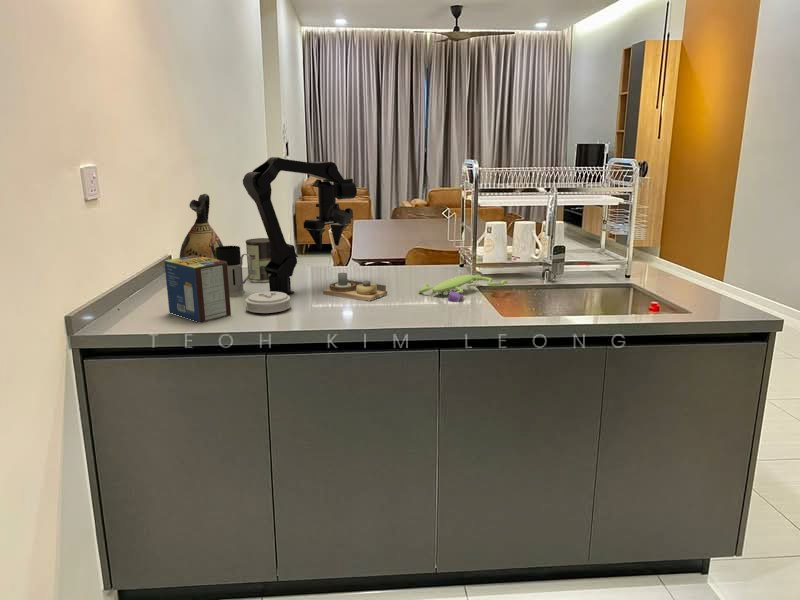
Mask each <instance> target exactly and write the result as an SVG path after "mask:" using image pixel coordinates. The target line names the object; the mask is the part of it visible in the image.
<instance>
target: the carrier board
mask: <svg viewBox="0 0 800 600" xmlns="http://www.w3.org/2000/svg"><path fill="white" fill-rule="evenodd" d="M347 282H348V283H350V284H351V286H349V287H336V286H335V284H337V283H338V281H337V282H336V281H335V282H332V283H330V284H329V288H327V289H323V290H322V292H323V293H322V294H323V295H327V296H334V297H341V298H345V299H351V298H353V299H352V300H358V299H361V300H360V301H364V300H368V301H367V302H371V301H370V300H372V301H374V300H373V299H375V298H377V299H379V298H378V297H380V296H383V295H385V296H387V295H388V291H387V285H386V284H380V283H379V284H378V283H373V282H371V281H370V280H364V281H358V280H350V279H347ZM386 294H387V295H386ZM383 297H384V296H383ZM380 298H381V297H380ZM375 300H376V299H375Z"/></svg>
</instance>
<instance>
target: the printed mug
mask: <svg viewBox="0 0 800 600" xmlns="http://www.w3.org/2000/svg"><path fill="white" fill-rule="evenodd" d="M270 247H271V245H270V241H269V239H268V237H259V238H258V237H257V238H249V239H246V240H245V248H246V254H248V255H250V257H251V259H252V271H251V274H250V277H249V278H248V279H247V280H248V281H249V282H251V283H252V282H253V283H269V276H270V274H267V273H266V271H265V267H266V266H267V264H268V263H269V262H270V260H271V257H270ZM246 263H247V275H248V274H249V271H250V259H249V257H248V256H247V255H246Z"/></svg>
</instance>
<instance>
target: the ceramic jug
mask: <svg viewBox="0 0 800 600" xmlns="http://www.w3.org/2000/svg"><path fill="white" fill-rule="evenodd" d="M188 205H189V208H190V209H191V210H192V211H194V212H195V213H196V219H195V220H194V221H195V222H194V224H193V225H192V226H191V228H190V230H189V231H188V232H187V234H186V236H185V237H184V239H183V241H182V243H181V247H180V251H179V257H178V258H183V257H190V256H196V255H197V256H201V257H206V258H211V259H216V247H220V246H224V245H223V241H222V240H221V238H220V237H219V236H218V233H216V231H215V230H214V228H213V227H212V226H211V224H210V223H209V213H210V195H209V194H207V193H203V194H200V195H199V196H198V199H197V200H196V199H192V200H191V201H190V202H189V204H188Z"/></svg>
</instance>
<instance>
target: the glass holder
mask: <svg viewBox="0 0 800 600" xmlns="http://www.w3.org/2000/svg"><path fill="white" fill-rule="evenodd" d="M244 256H246V257H247V256H248V257H249V259H250V271H249V274H248V273H247V276H246V277H245V279H243V260H244V259H243V258H244ZM216 260H222V261H227V269H228V281H229V294H230V298H234V297H233V296H235V297H239V296H243V295H245V294H246V291H245V289H244V284H245V283H246V282H247V280H248V278H249V277H250V274H251V271H252V259H251V257H250V255H248V254H247V253H243V254H241V246H240V245H239V246H238V245H223V246H220V247H216Z"/></svg>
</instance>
